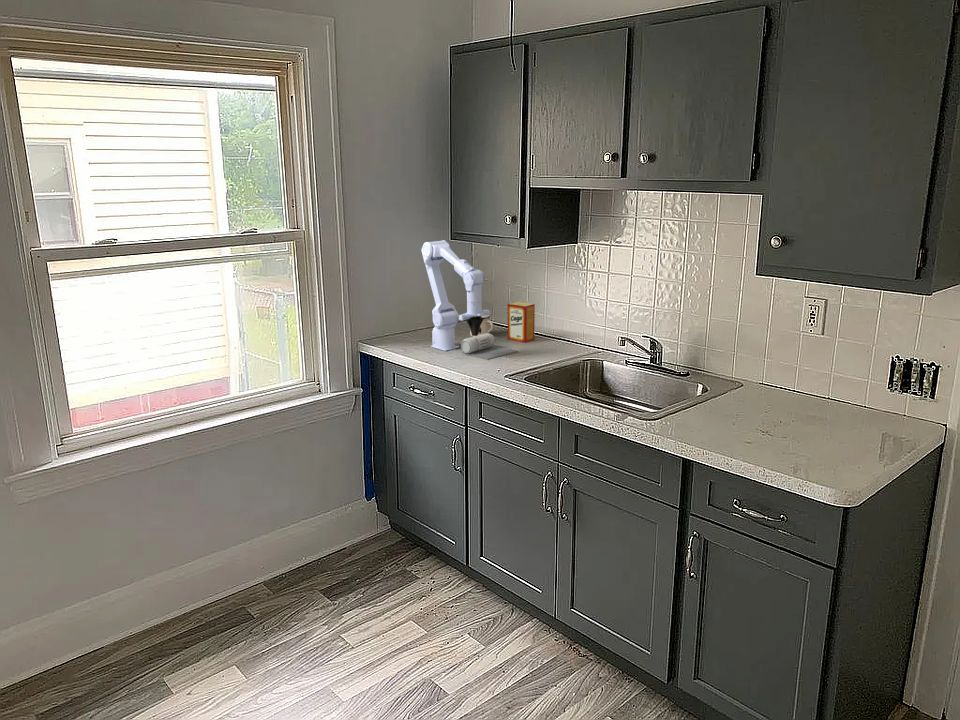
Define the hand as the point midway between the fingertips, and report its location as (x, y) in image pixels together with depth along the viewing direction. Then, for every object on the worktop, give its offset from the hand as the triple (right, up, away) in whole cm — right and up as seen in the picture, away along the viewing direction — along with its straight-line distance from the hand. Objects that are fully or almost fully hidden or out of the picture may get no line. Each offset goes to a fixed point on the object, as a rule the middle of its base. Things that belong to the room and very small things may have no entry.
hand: (474, 335), depth 293 cm
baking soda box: (+20, -1, +28) cm, 34 cm away
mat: (+6, -7, +8) cm, 12 cm away
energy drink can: (-4, -4, +3) cm, 7 cm away
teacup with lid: (+3, +1, +35) cm, 35 cm away
